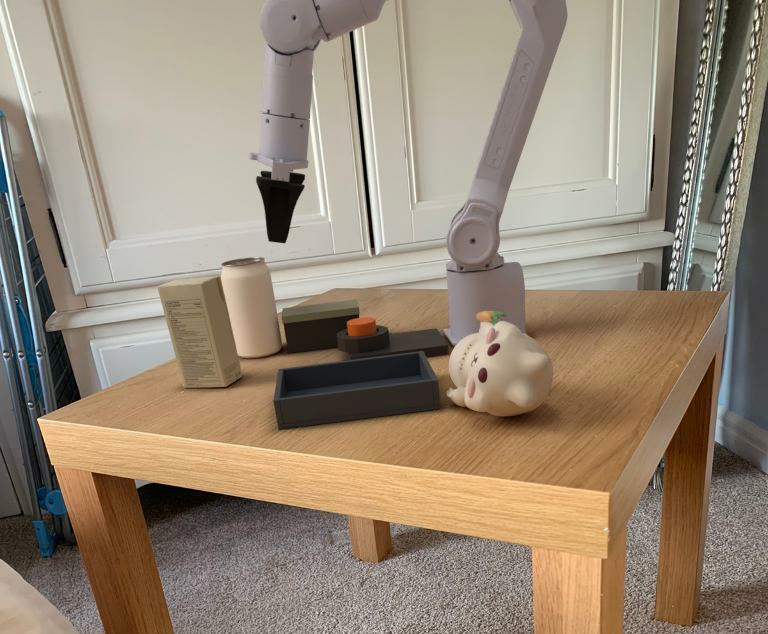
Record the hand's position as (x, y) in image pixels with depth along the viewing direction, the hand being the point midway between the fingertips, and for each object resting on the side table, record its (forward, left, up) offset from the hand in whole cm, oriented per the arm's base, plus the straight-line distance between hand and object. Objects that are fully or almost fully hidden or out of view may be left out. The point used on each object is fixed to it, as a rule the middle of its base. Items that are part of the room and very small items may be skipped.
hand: (278, 236), depth 95 cm
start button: (-9, +7, -12) cm, 17 cm away
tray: (-7, +25, -15) cm, 30 cm away
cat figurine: (-21, +33, -15) cm, 42 cm away
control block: (-13, +7, -15) cm, 21 cm away
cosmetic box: (+10, +11, -15) cm, 21 cm away
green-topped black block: (-4, -1, -15) cm, 15 cm away
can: (+5, -1, -15) cm, 16 cm away
